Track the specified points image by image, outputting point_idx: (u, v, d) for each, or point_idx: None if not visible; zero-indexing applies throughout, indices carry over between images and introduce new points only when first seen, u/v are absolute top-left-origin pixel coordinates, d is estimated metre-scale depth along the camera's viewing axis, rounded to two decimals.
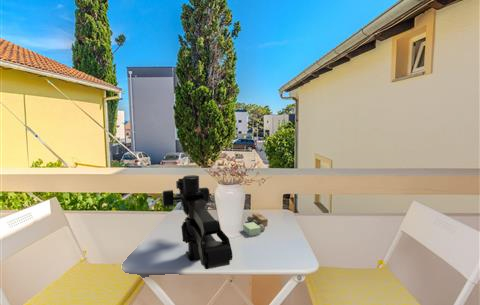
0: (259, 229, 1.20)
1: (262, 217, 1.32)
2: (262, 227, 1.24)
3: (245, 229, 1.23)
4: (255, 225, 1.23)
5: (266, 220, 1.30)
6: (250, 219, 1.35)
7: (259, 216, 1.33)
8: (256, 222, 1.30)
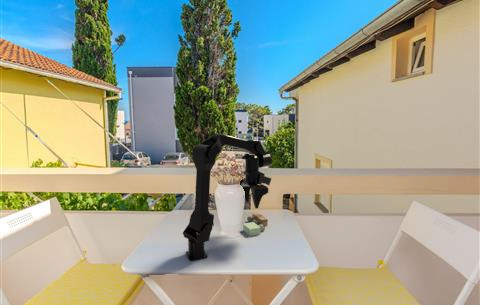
0: (259, 229, 1.20)
1: (262, 217, 1.32)
2: (262, 227, 1.24)
3: (245, 229, 1.23)
4: (255, 225, 1.23)
5: (266, 220, 1.30)
6: (250, 219, 1.35)
7: (259, 216, 1.33)
8: (256, 222, 1.30)
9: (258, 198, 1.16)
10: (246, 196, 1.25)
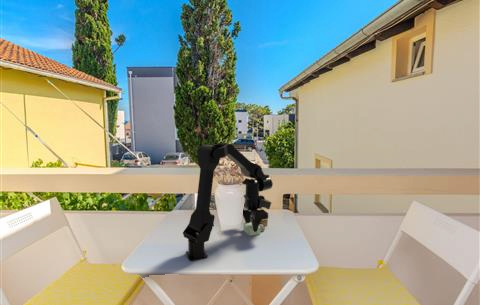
0: (259, 229, 1.20)
1: None
2: (262, 227, 1.24)
3: (245, 229, 1.23)
4: None
5: (266, 220, 1.30)
6: None
7: None
8: None
9: (257, 222, 1.18)
10: (247, 220, 1.26)
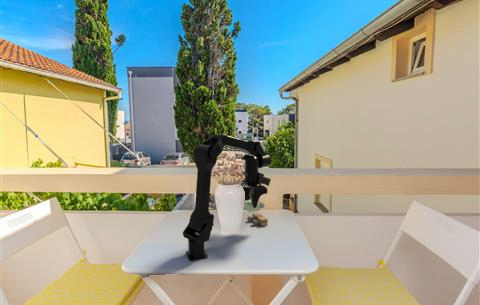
0: (258, 205, 1.20)
1: (262, 217, 1.32)
2: (261, 204, 1.23)
3: (244, 206, 1.23)
4: None
5: (266, 220, 1.30)
6: (250, 219, 1.35)
7: (259, 216, 1.33)
8: (256, 222, 1.30)
9: (256, 198, 1.18)
10: (247, 197, 1.25)
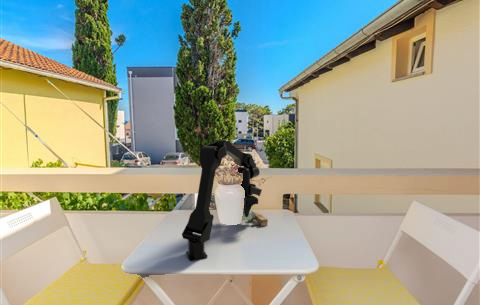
0: (250, 214, 1.28)
1: (262, 217, 1.32)
2: (253, 213, 1.31)
3: None
4: None
5: (266, 220, 1.30)
6: (250, 219, 1.35)
7: (259, 216, 1.33)
8: (256, 222, 1.30)
9: (248, 207, 1.26)
10: None
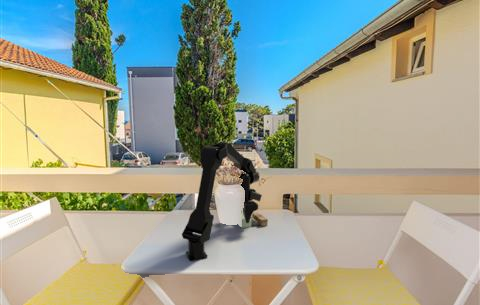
0: (250, 222, 1.29)
1: (262, 217, 1.32)
2: None
3: None
4: None
5: (266, 220, 1.30)
6: None
7: (259, 216, 1.33)
8: (256, 222, 1.30)
9: (249, 214, 1.25)
10: None
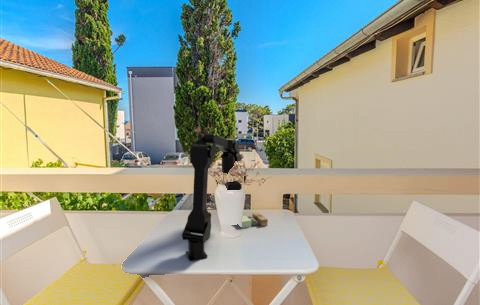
0: (250, 222, 1.29)
1: (262, 217, 1.32)
2: None
3: None
4: (246, 218, 1.31)
5: (266, 220, 1.30)
6: None
7: (259, 216, 1.33)
8: (256, 222, 1.30)
9: None
10: None
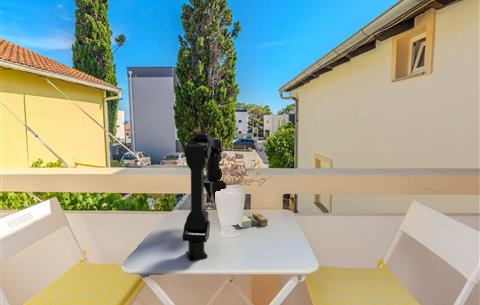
0: (250, 222, 1.29)
1: (262, 217, 1.32)
2: None
3: None
4: (246, 218, 1.31)
5: (266, 220, 1.30)
6: None
7: (259, 216, 1.33)
8: (256, 222, 1.30)
9: None
10: (209, 192, 1.32)
